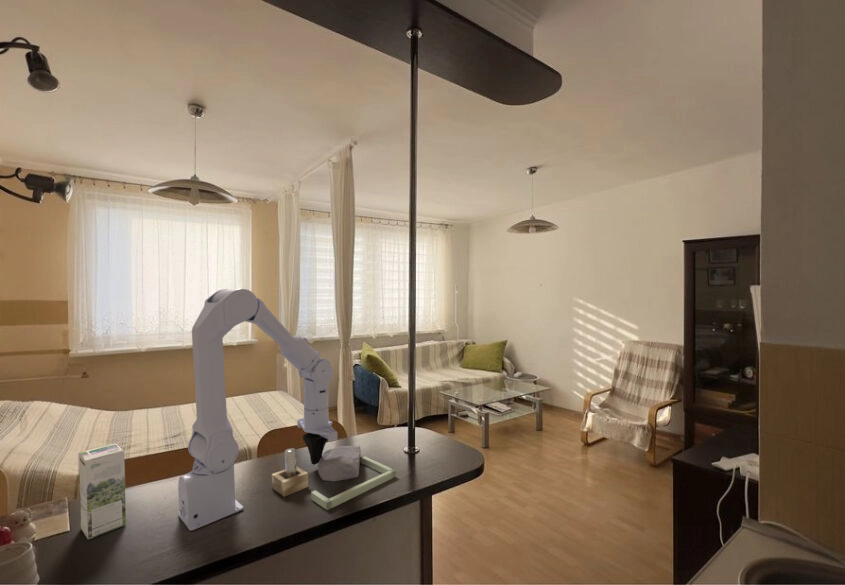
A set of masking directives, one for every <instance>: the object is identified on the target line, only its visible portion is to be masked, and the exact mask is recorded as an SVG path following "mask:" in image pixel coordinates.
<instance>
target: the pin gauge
mask: <svg viewBox="0 0 845 585" xmlns="http://www.w3.org/2000/svg"><path fill="white" fill-rule="evenodd" d="M297 467H298V465H297V448H294V447H293V448H292V447H291V448H287V449H285V450H284V469H285V479H288V478H291V477H293V476H296V475H297Z"/></svg>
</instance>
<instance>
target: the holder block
mask: <svg viewBox="0 0 845 585" xmlns="http://www.w3.org/2000/svg"><path fill="white" fill-rule="evenodd" d="M308 487H309V473H308V472H307V471H305V470H303V469H302V468H301V467H299V466H297V475H296V476H293V477H291V478H288V479H285V468H284V469H282V470H279V471H277V472H273V473H272V474H271V488H272V489H273V490H274V491H276V492H277V493H278V494H279V495H281V496H282V497H283V498H285V497H288V496H289V495H292V494H294V493H297V492H299V491H301V490H303V489H306V488H308Z"/></svg>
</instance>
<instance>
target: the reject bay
mask: <svg viewBox="0 0 845 585" xmlns="http://www.w3.org/2000/svg"><path fill="white" fill-rule="evenodd" d="M360 464H361V465H363V466H365V467H367V468H370V469H373V470H374V471H376V472H379V473H380V474H378V475H376V476H375V477H372V478H371V479H368V480H366V481H364V482H362V483H360V484H358V485H354V486H353V487H350V488H349V489H347V490H344V491H343V492H340V493H338V494H336V495H334V496H332V497H330V498H328V497H327V496H326V495H323V494H321V493H320V492H319V491H317V490H316V489H314V490H313V491H310V499H311V501H313V502H314V503H316V504H317V505H319V506H320V507H322V508H323V509H325V510H326V511H329V510H331V509H333V508H335V507H337V506H339V505H341V504H343V503H346V502H347V501H349V500H351V499H354V498H355V497H358V496H360V495H362V494H364V493H366V492H368V491H369V490H372V489H373V488H376V487H378V486H379V485H382V484H384V483H386V482H389V481H390V480H392V479H394V478H397V477H396V476H397V473H396V472H397V471H396V469H394V468H391V467H389V466H387V465H384V464H383V463H380V462H379V461H376V460H374V459H371V458H369V457H367V456H365V455H360Z"/></svg>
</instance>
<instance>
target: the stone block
mask: <svg viewBox="0 0 845 585" xmlns="http://www.w3.org/2000/svg"><path fill="white" fill-rule="evenodd" d="M360 457H361V446H360V445H357V446H353V445H352V446H351V445H340V446H335V447H333V448H329V449H327V450H326V451H323V453H322V457H321V459H320V461H319V463H317V470H318V471H317V472H318V475H319V477H320V479H321V480H322V481H326V482H336V481H343V480H344V481H345V480H351V479H357V478H358V477H359V474H360V464H361V463H360Z"/></svg>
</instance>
